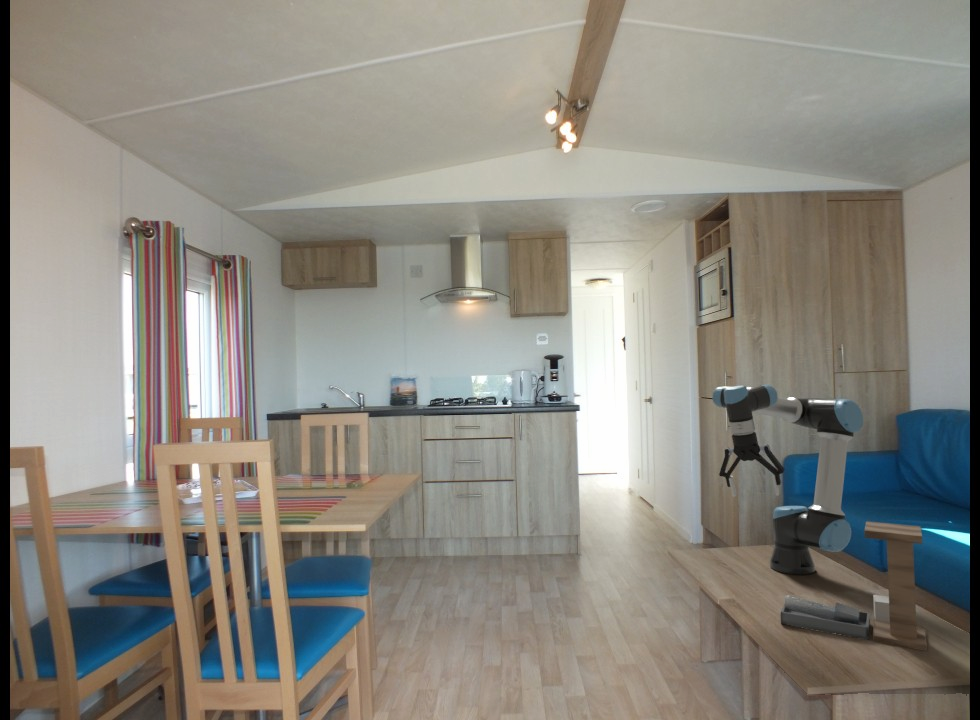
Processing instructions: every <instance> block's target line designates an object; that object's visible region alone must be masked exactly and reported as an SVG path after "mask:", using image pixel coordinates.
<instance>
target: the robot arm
mask: <svg viewBox="0 0 980 720" xmlns="http://www.w3.org/2000/svg"><path fill="white" fill-rule="evenodd" d="M711 397H712V403H714V405H715V406H716V407H719V408H724V409H726V412H727V418H728V424H729V429H730V433H731V434H732V435H731V438H732V443H733V448H730V447H726V448H725V449H724V458H723V461H722V464H721V467H720V469H719V472H718V473H719V474H718V475H719V477H724V478H725V481H726V486H727V487H728V488H730V492H731V496H732V498H735V497H736V496H737V489H736V486H735V485H736V484H735V478H734V476H733V475H732V473H733V472H734V471H735V468H736V467H737V466H738V464H739V463H740V461H742V462H746V461H750V462H751V461H752V462H753V461H754V460H756V461H757V462H758V463H759V464H761V465H762V466H764V468H765V469H767V470H768V471H769V472H770V473H771V474H772V475H771V479H772V483H773V487H774V488H773V489H774V494H775V496H776V497H778V496H779V495H780V488H779V486H780V485H781V484H782V480H781V477H780V475H781V474H784V472H785V467H784V466H783V465H782V463H781V462H780V461H779V460H778V458H776V457H777V456H776V455H774V454H773V452H772V451H771V448H770V445H769V444H765V445H763V446H760V445H759V442H758V437H757V432H755V430H756V427H755V426H756V425H755V422H754V416H753V413H754V414H759V415H763V416H769V417H772V418H773V417H774V418H779V419H782V420H783V421H784V422H787V423H790V424H794V425H797V426H801V427H804V428H808V429H811V430H812V429H813V430H816V434H817V436H819V438H820V444H819V452H818V461H817V469H816V471H817V472H816V481H815V487H814V497H813V504H812V505H810V506H809V507H807V506H804V505H784V506H776V507H775V508H774V510H773V516H772V520H773V521H772V523H773V539H774V542H773V543H774V545H773V546H774V547H773V550H772V552H771V553H772V554H771V555H770V559H769V566H770V569H772V570H774V571H777V572H780V573H782V574H783V573H784V574H790V575H801V576H802V575H809V574H810V575H811V574H813V573H815V572H816V568H815V567H816V564H815V562H814V559H813V556H812V554H811V552H810V547H811V548H816V549H818V550H819V549H820V550H822V551H825V552H827V551H828V552H832V553H837V552H841V551H843V550H844V549H845V548H846V547H847V546H848V544H849V543H850V540H851V537H852V528H851V524H850V523H849V522H848V521H847V520H846V514H845V513H844V511H843V509H842V499H843V493H844V492H843V491H844V483H845V481H844V480H845V474H846V462H847V454H848V444H849V442H850V441H851V440H853V439H854V434H855V433H857V432H859V431H860V430H861V429H862V427H863V423H864V416H863V412H862V410H861V408H860V406H859V405H858V404H857V402H856V401H854V400H851V399H846V398H839V397H838V398H819V397H814V398H797V397H788V398H785V397H780V396H778V393H777V390H776V389H775V388H774V387H773V385H771V384H761V385H758V386H745V385H735V386H727V385H725V386H718V387H716V388H715V389H714V390H713V392H712V396H711ZM761 451H762V452H763V453H764V454H765V455H766V456H767V458H768V459H769V460H770V462H771V463H772V464H771V463H770V462H769V461H768V460H766V458H765V457H763V456H762V454H760V453H761ZM733 453H734V454H735V456H736V458H735V460H734V461H733V462H732V464H731V466H730V467H729V469H728V470H727V466H728V464H729V460H730V459H731V455H732V454H733ZM726 470H727V472H726Z"/></svg>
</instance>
